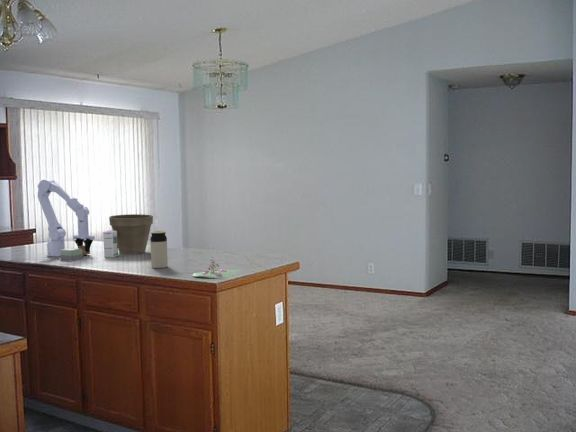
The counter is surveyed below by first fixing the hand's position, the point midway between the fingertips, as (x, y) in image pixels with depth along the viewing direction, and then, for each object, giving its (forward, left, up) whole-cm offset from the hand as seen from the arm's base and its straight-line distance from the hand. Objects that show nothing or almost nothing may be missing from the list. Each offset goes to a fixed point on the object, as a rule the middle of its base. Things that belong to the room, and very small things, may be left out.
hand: (84, 251), depth 362 cm
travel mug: (+68, -19, -2) cm, 71 cm away
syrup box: (+18, +2, -2) cm, 18 cm away
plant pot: (+20, +18, -2) cm, 27 cm away
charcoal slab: (+4, -14, -3) cm, 15 cm away
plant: (+106, -25, -3) cm, 109 cm away
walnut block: (0, 0, -1) cm, 1 cm away
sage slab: (+4, -14, 0) cm, 14 cm away
